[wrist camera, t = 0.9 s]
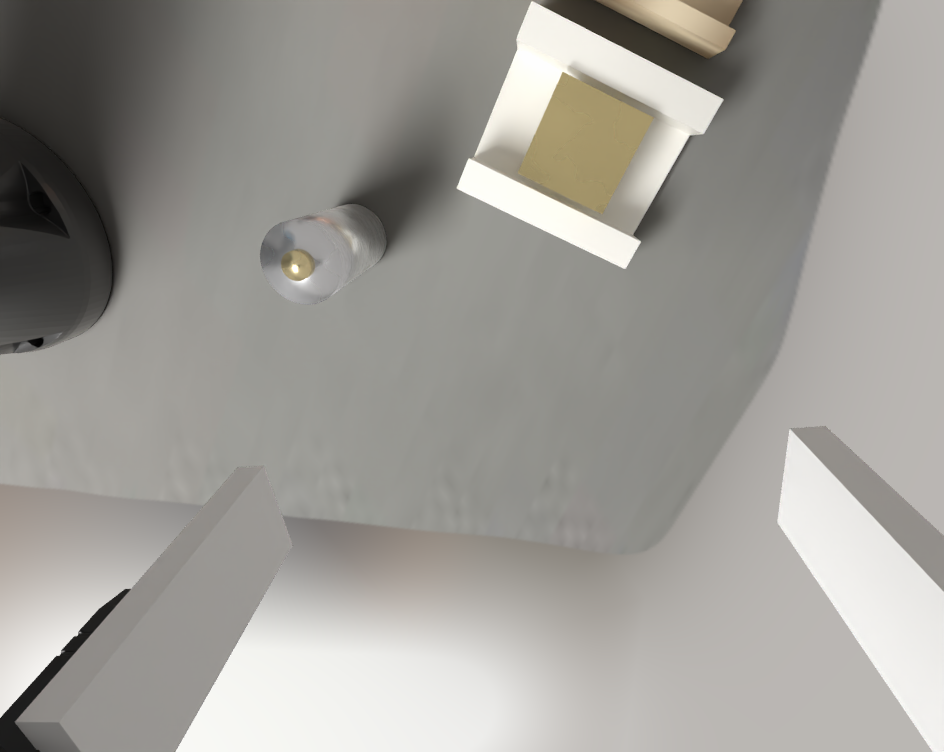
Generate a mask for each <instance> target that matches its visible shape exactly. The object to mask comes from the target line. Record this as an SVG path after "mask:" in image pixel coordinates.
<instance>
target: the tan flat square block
mask: <svg viewBox="0 0 944 752" xmlns="http://www.w3.org/2000/svg"><path fill="white" fill-rule="evenodd" d="M653 119H654V117H652V116H650V115H648V114H646V113H644V112H642V111H640V110H638V109H636V108H634V107H632V106H630V105H628V104H626V103H624V102H622V101H620V100H618V99H616V98H614V97H612V96H610V95H608V94H606V93H604V92H602V91H600V90H598V89H596V88H594V87H592V86H590V85H588V84H586V83H584V82H582V81H580V80H578V79H576V78H574V77H572V76H570V75H568V74H566V73H564V72H562V74H561V76H560V79H559V81H558V83H557V85H556V88H555V90H554V92H553V94H552V97H551V99H550V101H549V103H548V106H547V108H546V110H545V112H544V115H543V117H542V119H541V121H540V124H539V126H538V128H537V130H536V133H535V135H534V137H533V139H532V142H531V144H530V146H529V148H528V151H527V153H526V155H525V157H524V160H523V162H522V164H521V166H520V169H519V171H518V174H520V175H522V176H524V177H526V178H528V179H530V180H532V181H534V182H536V183H538V184H541V185H543V186H545V187H547V188H549V189H551V190H553V191H555V192H557V193H559V194H561V195H563V196H565V197H567V198H569V199H571V200H574V201H576V202H578V203H580V204H582V205H584V206H586V207H588V208H590V209H592V210H594V211H596V212H598V213H600V214H603V212H604V210H605V209H606V207H607V205H608V203H609V201H610V199H611V197H612V196H613V194H614V192H615V190H616V188H617V186H618V184H619V182H620V181H621V179H622V177H623V175H624V173H625V171H626V169H627V167H628V166H629V164H630V162H631V160H632V158H633V156H634V154H635V152H636V151H637V149H638V147H639V145H640V143H641V141H642V139H643V137H644V136H645V134H646V132H647V130H648V128H649V126H650V124H651V122H652V121H653Z"/></svg>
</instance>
